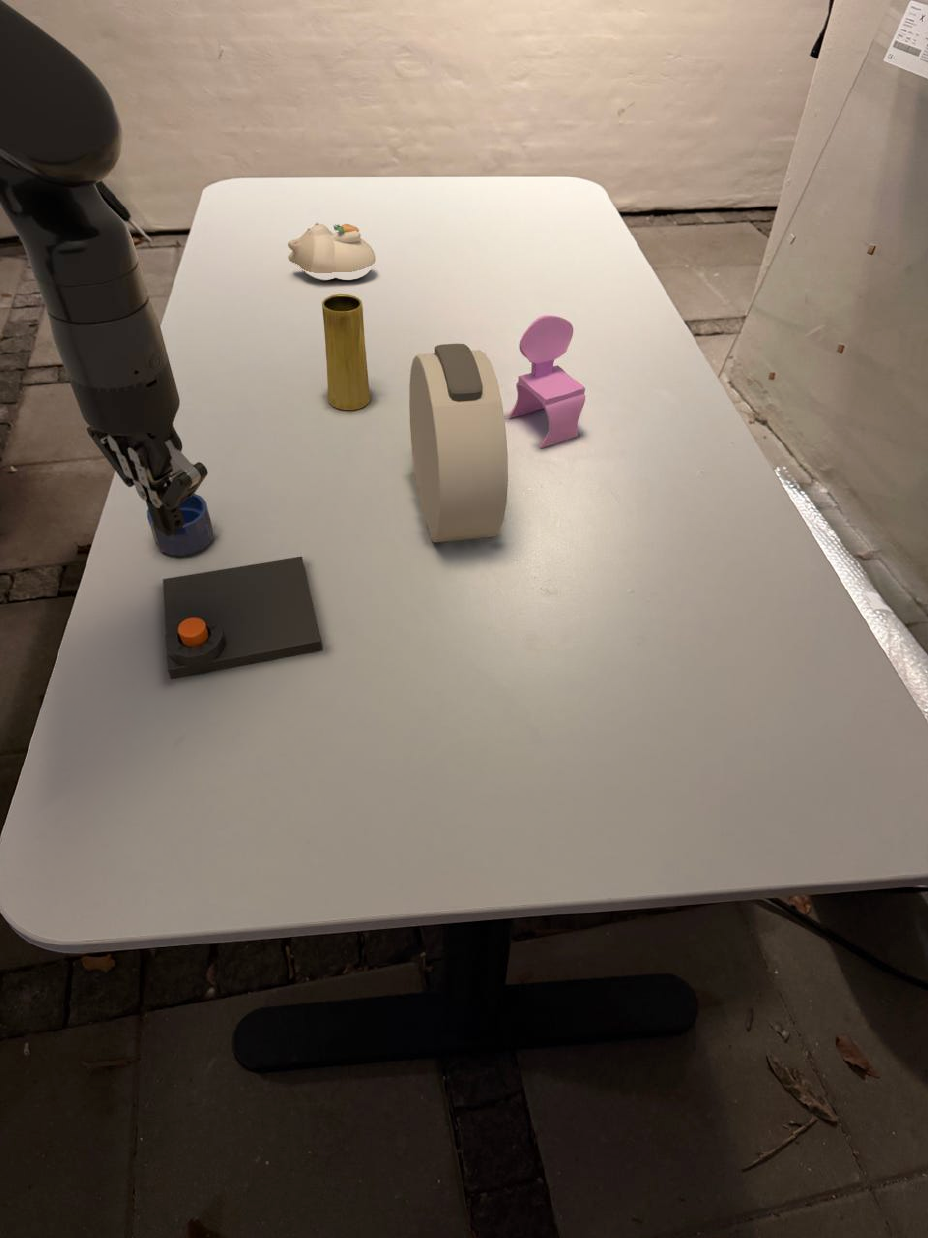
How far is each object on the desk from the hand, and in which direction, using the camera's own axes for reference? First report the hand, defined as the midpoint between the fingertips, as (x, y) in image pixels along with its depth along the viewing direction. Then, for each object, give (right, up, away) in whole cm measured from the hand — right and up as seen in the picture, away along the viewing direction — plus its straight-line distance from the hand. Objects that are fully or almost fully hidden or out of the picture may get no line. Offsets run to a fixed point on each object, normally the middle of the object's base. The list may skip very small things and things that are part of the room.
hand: (170, 528), depth 72 cm
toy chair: (+39, +18, +36) cm, 56 cm away
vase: (+11, +23, +39) cm, 47 cm away
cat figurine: (+4, +52, +65) cm, 83 cm away
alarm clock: (+26, +6, +24) cm, 36 cm away
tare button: (+1, -10, +4) cm, 11 cm away
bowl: (-5, +1, +18) cm, 18 cm away
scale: (+4, -8, +10) cm, 14 cm away
